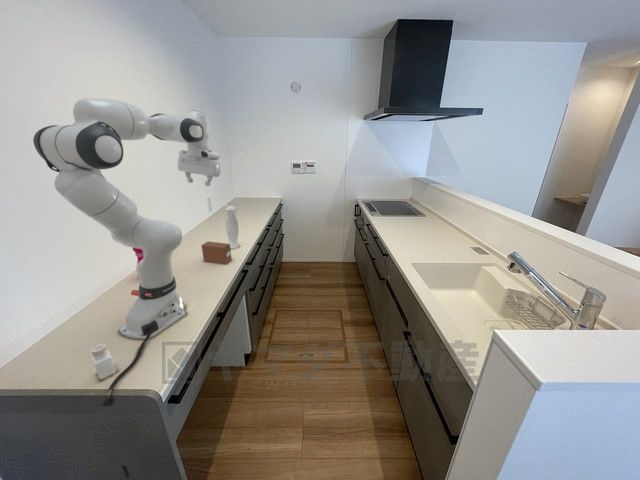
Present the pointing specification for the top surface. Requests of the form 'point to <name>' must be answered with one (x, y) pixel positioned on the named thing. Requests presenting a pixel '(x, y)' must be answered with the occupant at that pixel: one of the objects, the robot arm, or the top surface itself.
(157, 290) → the robot arm
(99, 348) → the pepper shaker
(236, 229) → the white baluster column
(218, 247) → the reddish brown block
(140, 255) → the pepper mill
